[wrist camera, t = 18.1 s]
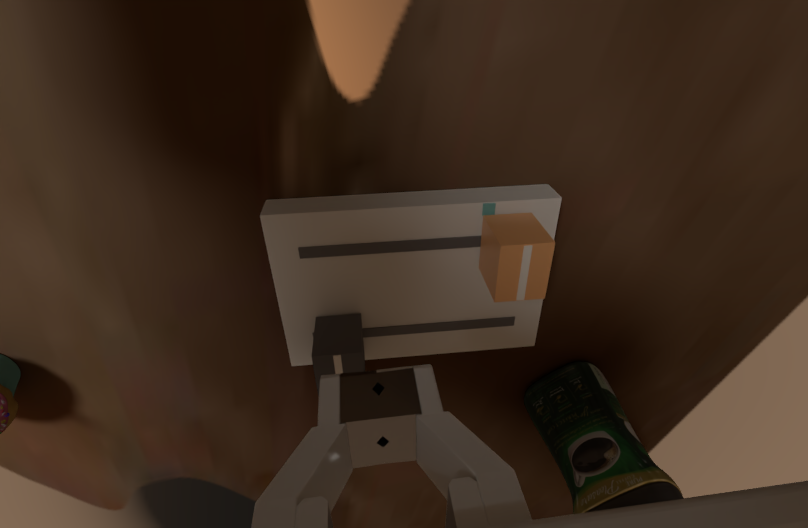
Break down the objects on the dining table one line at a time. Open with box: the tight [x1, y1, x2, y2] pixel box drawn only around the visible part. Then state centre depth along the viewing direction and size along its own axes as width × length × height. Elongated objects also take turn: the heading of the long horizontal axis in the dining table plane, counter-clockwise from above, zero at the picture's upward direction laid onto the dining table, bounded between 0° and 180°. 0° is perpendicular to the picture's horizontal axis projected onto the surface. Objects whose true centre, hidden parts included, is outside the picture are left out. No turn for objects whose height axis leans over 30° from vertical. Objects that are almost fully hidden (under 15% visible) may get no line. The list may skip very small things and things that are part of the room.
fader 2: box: [479, 212, 555, 302], centre depth 35 cm, size 4×5×5 cm
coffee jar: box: [524, 361, 684, 514], centre depth 45 cm, size 10×8×19 cm
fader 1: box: [311, 313, 365, 396], centre depth 39 cm, size 4×5×5 cm
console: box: [260, 184, 562, 366], centre depth 40 cm, size 24×16×3 cm, turn 91°
